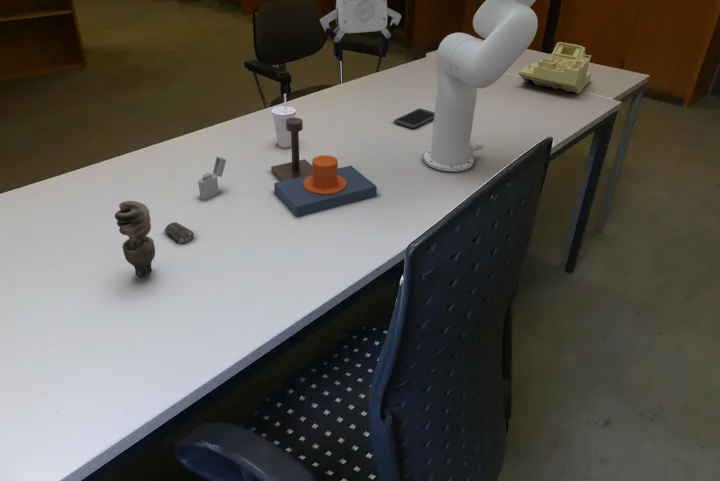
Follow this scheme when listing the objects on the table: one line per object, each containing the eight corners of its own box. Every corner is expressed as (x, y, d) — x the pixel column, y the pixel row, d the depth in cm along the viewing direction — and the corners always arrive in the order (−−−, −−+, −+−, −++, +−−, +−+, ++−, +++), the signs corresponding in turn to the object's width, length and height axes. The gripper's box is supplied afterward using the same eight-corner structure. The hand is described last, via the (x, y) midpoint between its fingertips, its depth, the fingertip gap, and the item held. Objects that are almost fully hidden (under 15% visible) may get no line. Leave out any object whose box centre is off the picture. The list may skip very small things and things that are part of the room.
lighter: (205, 200, 129) (200, 167, 124) (200, 197, 129) (195, 165, 125) (229, 188, 133) (226, 157, 129) (224, 186, 134) (220, 154, 130)
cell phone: (439, 116, 174) (440, 113, 174) (413, 129, 165) (413, 127, 165) (419, 110, 178) (419, 107, 178) (392, 122, 169) (393, 120, 169)
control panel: (541, 33, 207) (600, 36, 197) (539, 74, 216) (594, 80, 207) (517, 58, 192) (579, 64, 182) (516, 102, 202) (575, 109, 192)
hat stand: (304, 164, 145) (303, 111, 137) (321, 179, 138) (320, 124, 131) (271, 171, 141) (268, 117, 133) (286, 187, 135) (284, 131, 127)
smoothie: (293, 151, 151) (291, 99, 144) (269, 148, 152) (266, 96, 145) (300, 141, 156) (298, 90, 149) (277, 139, 157) (274, 88, 150)
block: (177, 227, 119) (176, 219, 118) (196, 237, 116) (195, 230, 115) (162, 234, 117) (161, 227, 116) (181, 245, 113) (180, 237, 112)
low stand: (350, 174, 141) (350, 165, 140) (376, 195, 132) (376, 186, 131) (274, 192, 132) (273, 183, 131) (296, 216, 124) (296, 206, 122)
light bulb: (133, 266, 107) (117, 195, 99) (164, 266, 108) (150, 195, 99) (126, 285, 103) (108, 212, 94) (157, 284, 103) (142, 211, 95)
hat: (334, 171, 137) (334, 148, 133) (354, 189, 130) (355, 164, 126) (295, 180, 132) (294, 156, 129) (315, 199, 125) (314, 174, 122)
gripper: (322, -24, 110) (325, 66, 119) (408, -28, 114) (404, 59, 123) (314, -31, 116) (317, 56, 125) (396, -35, 120) (393, 49, 129)
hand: (361, 57), depth 124 cm, fingers open, 9 cm apart
